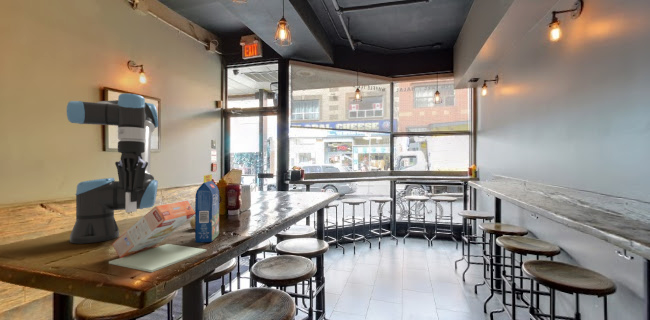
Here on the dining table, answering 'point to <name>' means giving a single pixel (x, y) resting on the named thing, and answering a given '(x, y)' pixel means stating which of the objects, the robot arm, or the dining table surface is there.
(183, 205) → the cracker box
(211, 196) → the blue food package
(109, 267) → the dining table surface
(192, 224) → the onion
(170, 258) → the mat
